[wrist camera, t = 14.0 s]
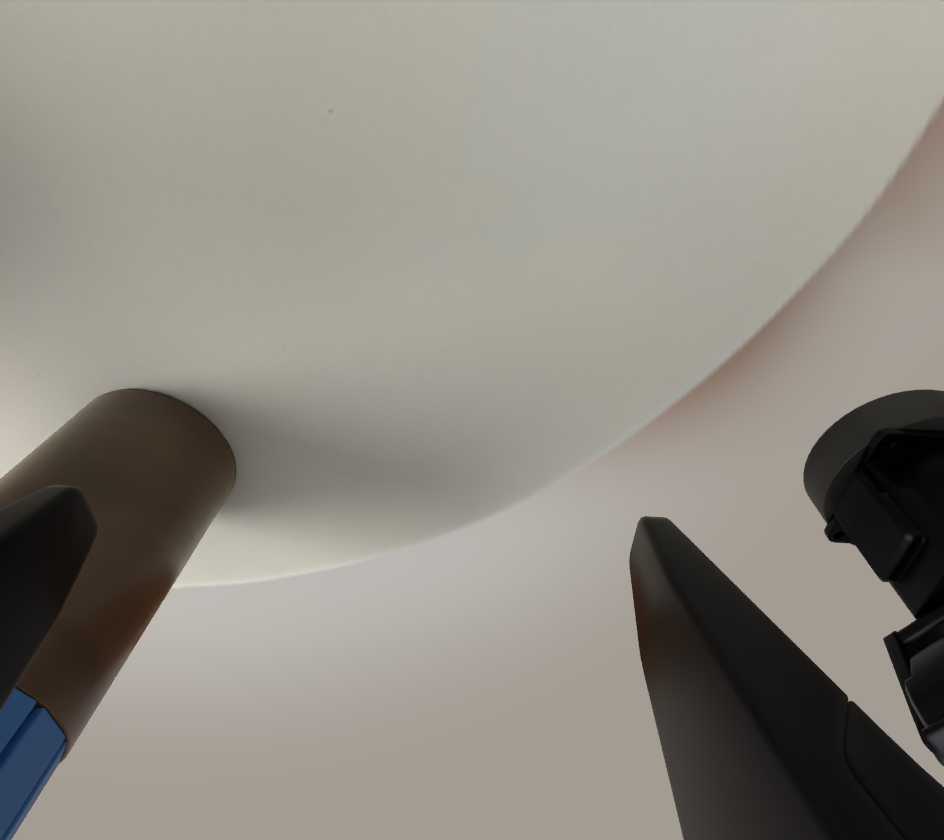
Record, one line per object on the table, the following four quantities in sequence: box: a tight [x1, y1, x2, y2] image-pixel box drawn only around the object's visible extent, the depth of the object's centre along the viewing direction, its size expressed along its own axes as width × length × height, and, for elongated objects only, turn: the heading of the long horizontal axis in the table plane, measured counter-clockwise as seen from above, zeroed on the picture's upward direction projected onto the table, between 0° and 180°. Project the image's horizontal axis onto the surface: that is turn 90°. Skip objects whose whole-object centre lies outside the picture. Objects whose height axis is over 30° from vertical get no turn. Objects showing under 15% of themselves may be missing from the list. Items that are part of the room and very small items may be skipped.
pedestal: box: [0, 390, 236, 763], centre depth 19 cm, size 7×7×11 cm
